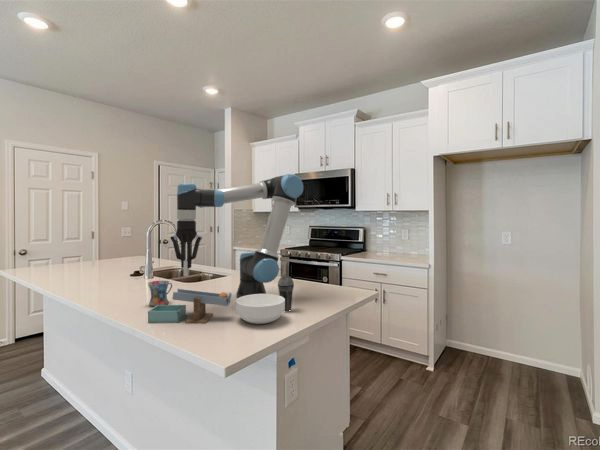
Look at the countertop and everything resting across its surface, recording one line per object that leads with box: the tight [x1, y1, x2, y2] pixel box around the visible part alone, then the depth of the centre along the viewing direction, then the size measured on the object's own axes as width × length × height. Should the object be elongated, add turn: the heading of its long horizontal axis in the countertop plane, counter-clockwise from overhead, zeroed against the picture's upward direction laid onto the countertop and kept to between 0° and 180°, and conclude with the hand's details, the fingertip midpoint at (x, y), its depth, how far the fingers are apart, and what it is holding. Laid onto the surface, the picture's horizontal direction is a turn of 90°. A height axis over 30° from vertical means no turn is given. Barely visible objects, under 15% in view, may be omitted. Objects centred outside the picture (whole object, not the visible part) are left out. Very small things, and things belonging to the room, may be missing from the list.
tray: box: [147, 304, 187, 324], centre depth 134 cm, size 12×9×4 cm
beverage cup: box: [277, 265, 295, 312], centre depth 146 cm, size 7×7×20 cm
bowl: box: [235, 293, 285, 325], centre depth 133 cm, size 20×20×8 cm
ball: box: [219, 291, 228, 298], centre depth 134 cm, size 4×4×4 cm
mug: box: [147, 280, 173, 307], centre depth 155 cm, size 12×9×11 cm
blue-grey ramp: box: [171, 288, 232, 307], centre depth 137 cm, size 22×13×4 cm, turn 92°
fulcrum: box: [185, 298, 214, 324], centre depth 134 cm, size 8×11×10 cm
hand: (186, 275), depth 139 cm, fingers closed
